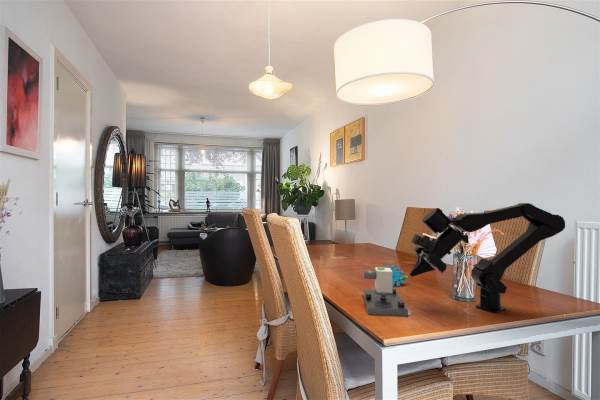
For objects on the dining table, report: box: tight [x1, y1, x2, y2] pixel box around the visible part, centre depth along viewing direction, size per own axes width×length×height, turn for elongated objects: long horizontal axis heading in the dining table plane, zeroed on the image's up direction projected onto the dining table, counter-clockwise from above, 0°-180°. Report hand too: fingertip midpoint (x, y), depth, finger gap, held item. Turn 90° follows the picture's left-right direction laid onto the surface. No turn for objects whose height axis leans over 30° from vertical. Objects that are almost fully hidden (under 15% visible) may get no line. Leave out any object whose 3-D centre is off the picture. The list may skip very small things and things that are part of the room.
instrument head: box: [363, 266, 393, 296], centre depth 107 cm, size 10×6×9 cm, turn 83°
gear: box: [385, 264, 409, 288], centre depth 132 cm, size 11×6×10 cm
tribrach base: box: [362, 288, 409, 317], centre depth 106 cm, size 12×20×3 cm, turn 173°
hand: (410, 275), depth 105 cm, fingers closed
